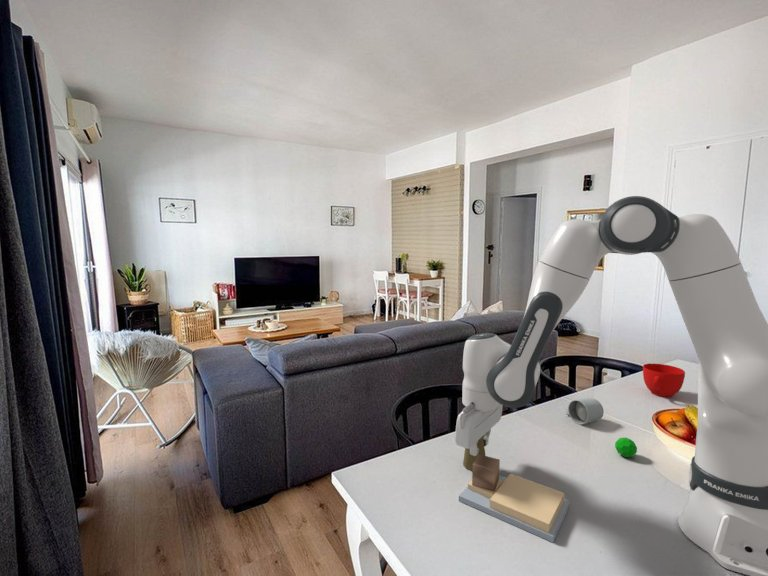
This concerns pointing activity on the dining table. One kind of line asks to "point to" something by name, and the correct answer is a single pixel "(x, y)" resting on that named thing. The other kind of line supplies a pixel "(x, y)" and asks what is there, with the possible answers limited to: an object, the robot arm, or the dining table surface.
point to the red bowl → (663, 379)
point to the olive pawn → (470, 458)
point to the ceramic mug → (585, 410)
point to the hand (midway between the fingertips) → (479, 449)
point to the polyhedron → (626, 447)
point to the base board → (521, 504)
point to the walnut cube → (485, 472)
